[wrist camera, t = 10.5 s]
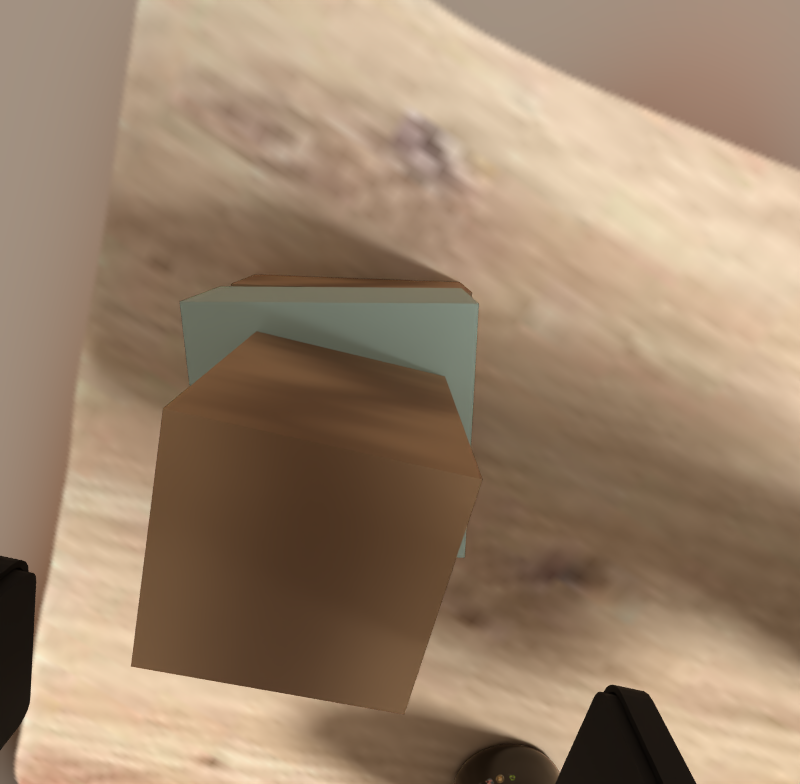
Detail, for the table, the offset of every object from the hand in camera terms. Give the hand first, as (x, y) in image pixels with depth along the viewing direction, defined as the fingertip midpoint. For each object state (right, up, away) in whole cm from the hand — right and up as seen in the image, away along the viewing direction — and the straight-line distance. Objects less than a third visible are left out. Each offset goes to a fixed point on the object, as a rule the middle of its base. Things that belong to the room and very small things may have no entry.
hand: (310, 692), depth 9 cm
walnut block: (-1, +3, +9) cm, 9 cm away
